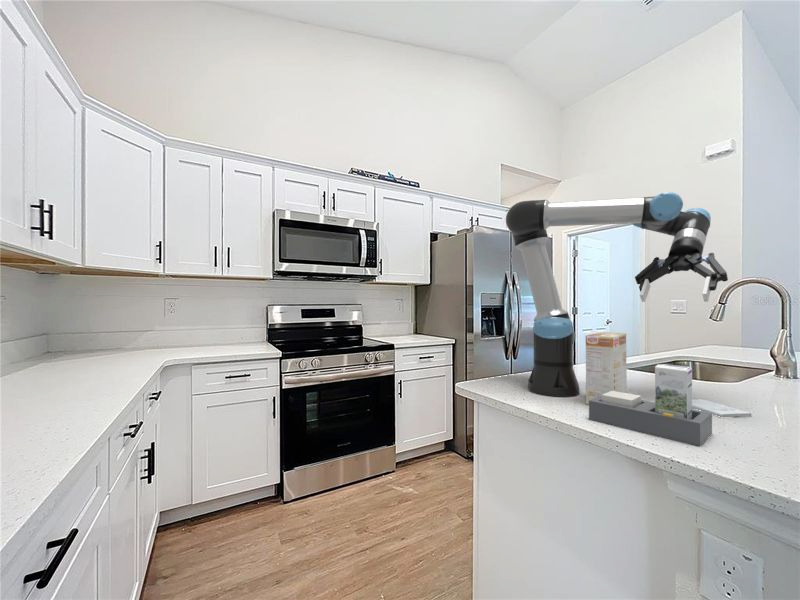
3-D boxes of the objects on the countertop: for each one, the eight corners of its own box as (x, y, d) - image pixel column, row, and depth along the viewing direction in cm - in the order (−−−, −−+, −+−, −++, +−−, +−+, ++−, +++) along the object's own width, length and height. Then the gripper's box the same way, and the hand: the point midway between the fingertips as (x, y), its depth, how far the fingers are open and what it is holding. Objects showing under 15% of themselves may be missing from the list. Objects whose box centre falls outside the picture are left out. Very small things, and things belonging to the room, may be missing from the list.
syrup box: (693, 432, 77) (692, 366, 77) (687, 439, 73) (687, 369, 73) (661, 425, 81) (660, 362, 82) (654, 431, 77) (654, 365, 78)
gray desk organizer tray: (588, 419, 86) (588, 394, 86) (606, 410, 93) (606, 387, 93) (700, 446, 70) (700, 415, 70) (712, 433, 76) (711, 406, 76)
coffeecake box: (601, 394, 109) (601, 331, 109) (628, 399, 104) (627, 333, 104) (584, 404, 99) (584, 334, 99) (613, 410, 93) (613, 336, 94)
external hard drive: (704, 404, 100) (751, 419, 88) (677, 405, 100) (721, 420, 87) (704, 399, 100) (751, 412, 88) (677, 399, 100) (721, 413, 87)
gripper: (747, 252, 96) (738, 308, 86) (640, 261, 115) (623, 307, 106) (744, 230, 92) (733, 286, 83) (635, 243, 112) (616, 289, 102)
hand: (672, 298), depth 94 cm, fingers open, 13 cm apart
